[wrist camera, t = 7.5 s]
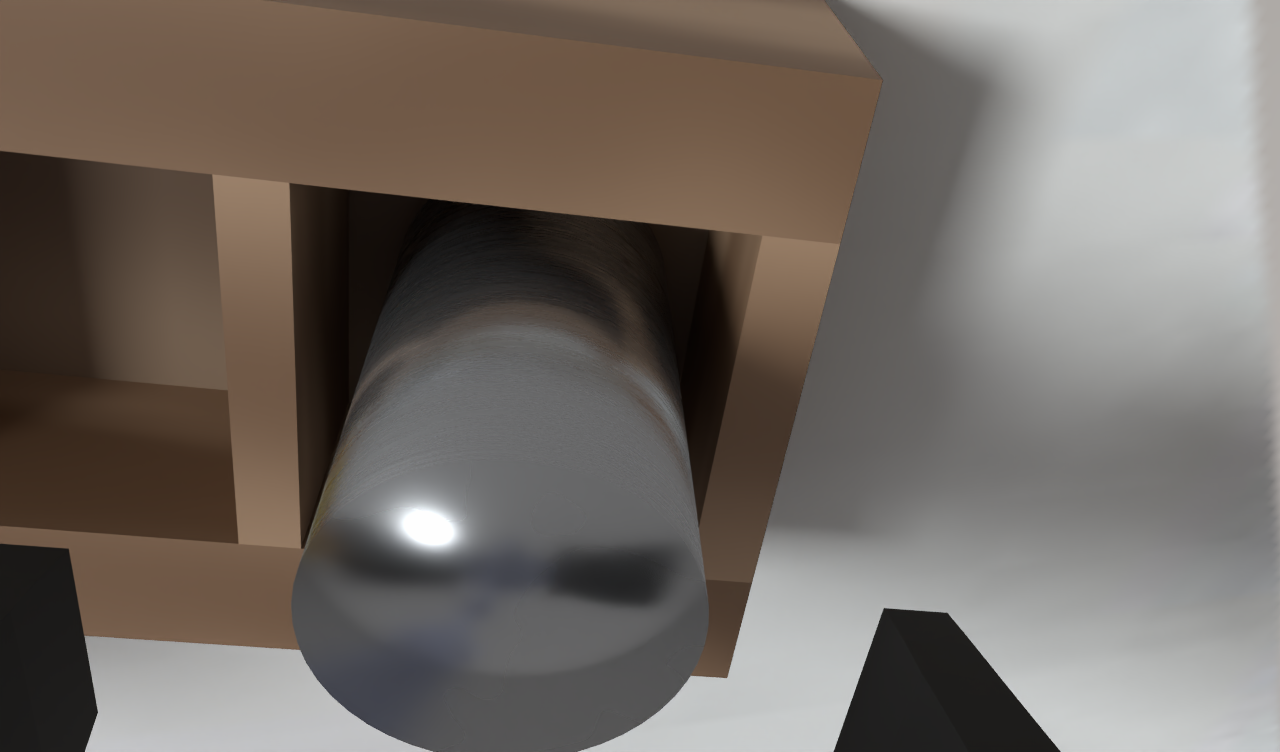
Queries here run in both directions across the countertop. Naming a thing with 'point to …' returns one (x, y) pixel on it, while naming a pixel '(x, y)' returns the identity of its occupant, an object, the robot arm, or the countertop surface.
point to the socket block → (376, 254)
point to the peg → (510, 493)
